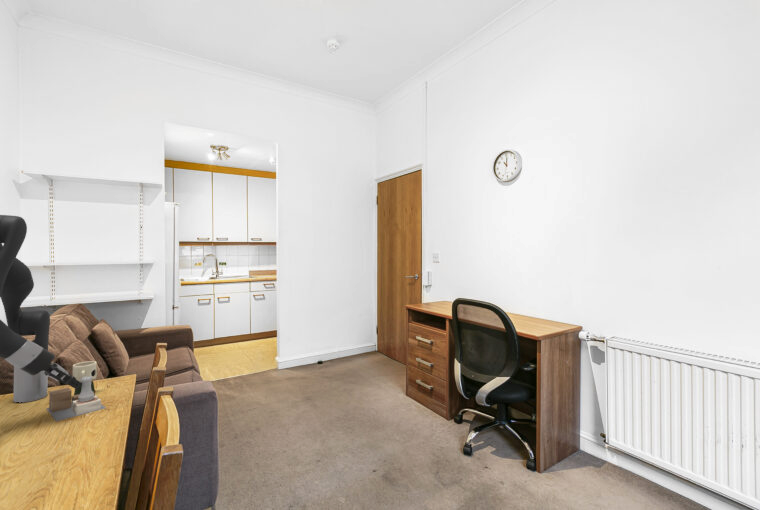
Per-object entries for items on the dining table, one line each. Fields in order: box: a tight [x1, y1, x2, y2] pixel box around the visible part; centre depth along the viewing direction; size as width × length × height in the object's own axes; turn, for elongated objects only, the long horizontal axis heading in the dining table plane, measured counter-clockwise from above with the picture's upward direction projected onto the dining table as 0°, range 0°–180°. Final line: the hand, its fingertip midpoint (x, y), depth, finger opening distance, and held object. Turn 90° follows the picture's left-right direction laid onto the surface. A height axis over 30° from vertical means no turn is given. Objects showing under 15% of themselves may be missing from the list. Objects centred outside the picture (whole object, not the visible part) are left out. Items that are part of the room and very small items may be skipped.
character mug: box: [72, 360, 98, 396], centre depth 135 cm, size 11×7×13 cm, turn 34°
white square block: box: [72, 395, 102, 416], centre depth 121 cm, size 6×6×3 cm
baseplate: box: [46, 401, 107, 422], centre depth 122 cm, size 16×13×1 cm
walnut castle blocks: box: [48, 386, 96, 412], centre depth 125 cm, size 5×12×6 cm, turn 141°
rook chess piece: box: [78, 376, 95, 402], centre depth 121 cm, size 4×4×8 cm
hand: (76, 383), depth 119 cm, fingers open, 8 cm apart
